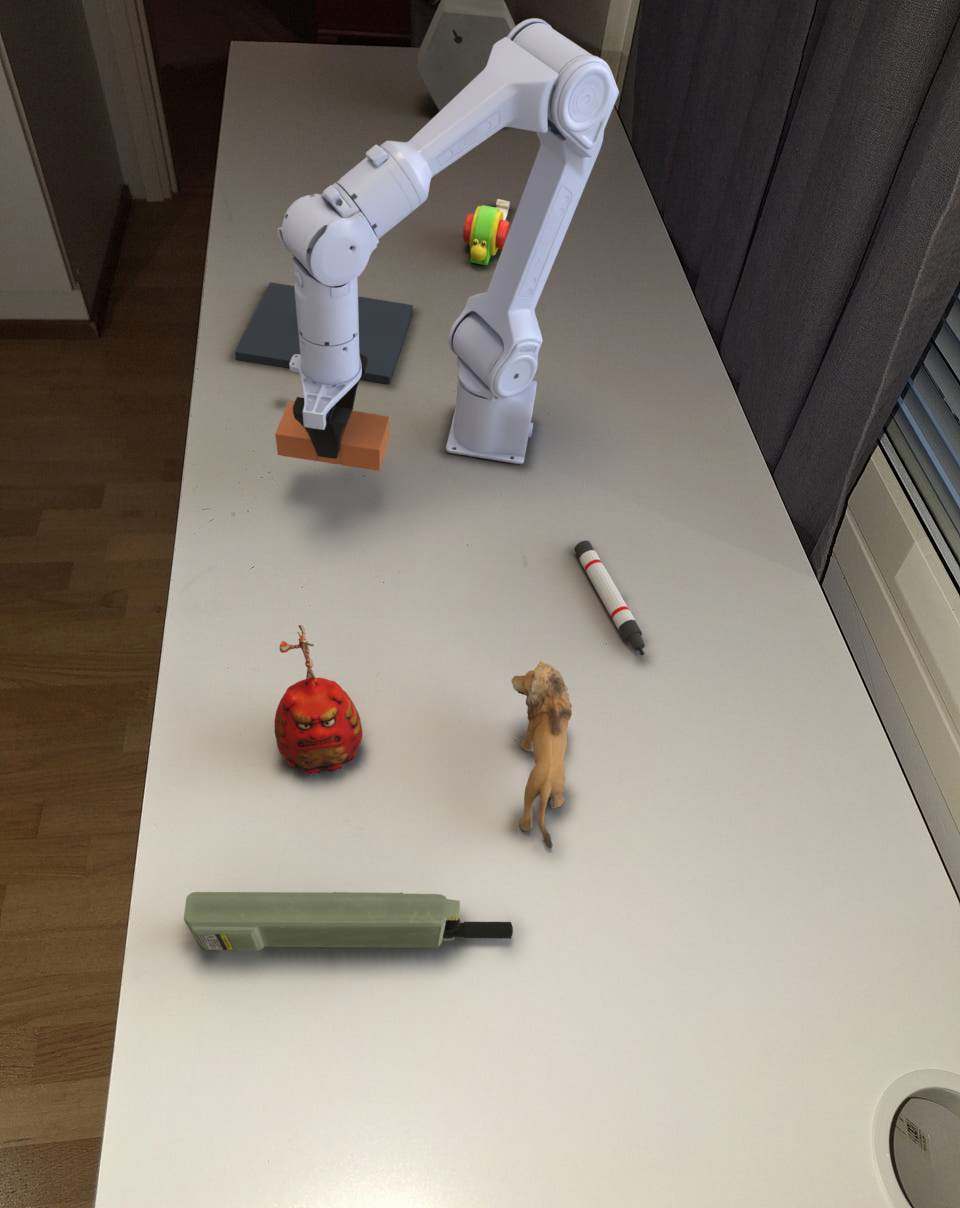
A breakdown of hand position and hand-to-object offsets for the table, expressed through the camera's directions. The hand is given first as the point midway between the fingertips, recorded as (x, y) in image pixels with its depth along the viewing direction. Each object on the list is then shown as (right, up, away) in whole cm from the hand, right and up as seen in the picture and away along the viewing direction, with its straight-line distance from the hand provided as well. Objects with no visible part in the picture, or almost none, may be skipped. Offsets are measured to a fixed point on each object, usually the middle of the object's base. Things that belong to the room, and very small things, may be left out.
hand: (334, 436), depth 96 cm
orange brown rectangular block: (0, -1, +1) cm, 1 cm away
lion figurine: (+21, -33, -13) cm, 41 cm away
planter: (+14, +71, +67) cm, 99 cm away
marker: (+29, -18, 0) cm, 35 cm away
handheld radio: (+6, -45, -23) cm, 51 cm away
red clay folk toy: (+1, -31, -13) cm, 34 cm away
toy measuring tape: (+17, +38, +42) cm, 60 cm away
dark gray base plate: (-5, +18, +24) cm, 30 cm away
